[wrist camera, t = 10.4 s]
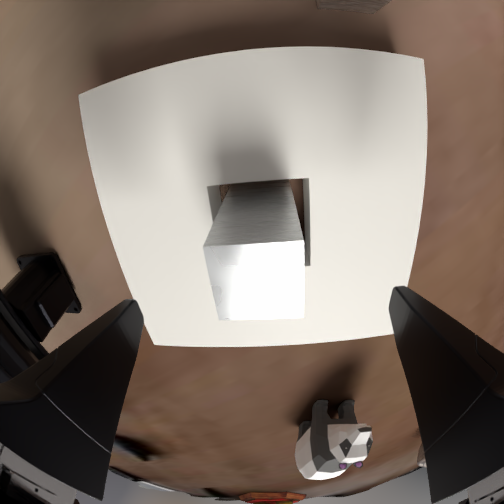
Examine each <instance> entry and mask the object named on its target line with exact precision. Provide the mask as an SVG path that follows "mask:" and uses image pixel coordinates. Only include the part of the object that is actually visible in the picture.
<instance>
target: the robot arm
mask: <svg viewBox="0 0 504 504" xmlns="http://www.w3.org/2000/svg"><path fill="white" fill-rule="evenodd" d="M17 263H18V265H19V267H20V269H21V271H20V272H19V273H18V274H17V275H16V276H15V277H14V278H13V279H12V280H11V281H10V282H9V283H8V284H7V285H6V286H5V287H4V288H3V289H2V290H1V289H0V504H79V502H78V500H77V499H75V496H76V493H77V490H78V491H80V492H82V493H84V494H86V495H88V496H91V497H93V498H95V499H98V500H100V501H102V499H103V495H104V489H105V483H106V477H107V472H108V467H109V462H110V457H111V452H112V448H113V443H114V439H115V434H116V430H117V426H118V422H119V418H120V414H121V410H122V406H123V403H124V399H125V395H126V392H127V388H128V385H129V381H130V378H131V374H132V371H133V368H134V364H135V361H136V357H137V353H138V348H139V343H140V338H141V333H142V329H143V324H144V317H143V314H142V312H141V309H140V307H139V305H138V302H137V301H136V300H134V299H126V300H124V301H122V302H121V303H119V304H118V305H117V306H115V307H114V308H112V309H111V310H109V311H108V312H107V313H105V314H104V315H102V316H101V317H99V318H98V319H97V320H95V321H94V322H92V323H91V324H90V325H88V326H87V327H85V328H84V329H83V330H81V331H80V332H78V333H77V334H76V335H74V336H73V337H72V338H70V339H69V340H67V341H66V342H65V343H63V344H62V345H61V346H59V347H58V349H57V348H56V349H55V350H54V351H52V352H51V353H50V354H49V353H48V352H47V351H46V350H45V348H44V347H43V346H42V345H41V344H40V342H43V341H44V339H45V338H46V336H47V335H48V333H49V332H50V330H51V329H52V328H53V327H55V325H56V324H57V322H58V321H59V320H60V318H61V317H62V316H63V314H64V313H65V312H66V313H80V311H81V310H82V308H81V306H80V304H79V302H78V300H77V298H76V296H75V294H74V292H73V290H72V288H71V286H70V283H69V281H68V279H67V277H66V275H65V272H64V270H63V268H62V266H61V263H60V261H59V259H58V256H57V255H56V254H55V253H53V252H52V253H42V254H33V255H24V256H19V257H18V258H17ZM389 314H390V319H391V323H392V327H393V332H394V336H395V341H396V346H397V349H398V353H399V356H400V359H401V362H402V366H403V369H404V372H405V376H406V379H407V383H408V386H409V390H410V393H411V397H412V401H413V405H414V409H415V413H416V417H417V421H418V425H419V430H420V434H421V439H422V444H423V449H424V452H425V453H424V455H425V461H426V467H427V473H428V479H429V487H430V495H431V502H432V504H434V503H436V502H439V501H441V500H443V499H446V498H448V497H450V496H453V495H455V494H457V493H459V492H461V491H463V490H465V489H467V491H468V497H469V498H467V499H465V500H463V501H461V502H459V504H504V353H502V352H500V351H499V350H497V349H496V348H494V347H493V346H491V345H490V344H489V343H487V342H486V341H484V340H483V339H482V338H480V337H479V336H478V335H475V333H473V332H472V331H471V330H469V329H468V328H466V327H465V326H464V325H462V324H461V323H459V322H458V321H457V320H455V319H454V318H452V317H451V316H449V315H448V314H447V313H445V312H444V311H442V310H441V309H439V308H438V307H436V306H435V305H433V304H432V303H430V302H429V301H427V300H426V299H424V298H423V297H421V296H420V295H418V294H417V293H415V292H414V291H412V290H411V289H409V288H408V287H406V286H395V287H394V288H393V290H392V294H391V298H390V302H389Z"/></svg>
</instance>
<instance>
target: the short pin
mask: <svg viewBox="0 0 504 504" xmlns="http://www.w3.org/2000/svg"><path fill="white" fill-rule="evenodd" d="M390 1H392V0H316V3H317V8H318V9H327V10H342V11H353V12H361V13H369V14H374V13H375V12H376V11H378V10H379V9H381V8H382V7H383V6H385V5H386V4H388V3H389V2H390Z"/></svg>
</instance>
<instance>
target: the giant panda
mask: <svg viewBox="0 0 504 504" xmlns="http://www.w3.org/2000/svg"><path fill="white" fill-rule="evenodd" d="M327 406H328V400H317V401H316V402H315V403H314V405H313V407H312V421H303V422H302V423H301V424H300V426H299V435H298V440H297V443H296V450H295V459H296V464H297V468H298V469H299V471H300V472H301V473H302V474H303V476H304V477H305V478H306V479H316V480H323V479H328V478H333V477H336V476H339V475H340V474H342V473H343V472H344V471H345V470H346V469H347V468H348V467H349V466H350V465H351V464H352V463H353V465H354V466H355V467H357V468H361V467H362V466H363V463H362V462H361V461H363V460H364V459H365V458H366V457H367V456H368V453H369V450H370V448H371V445H372V443H373V439H372V431H371V429H372V428H371V427H370V426H367V425H366V424H358V423H357V420H356V417H355V413H354V400H345V401H344V402H342V404H341V405H340V406H339V407H338V416H339V419H331V418H330V417H329V415H328V413H327Z"/></svg>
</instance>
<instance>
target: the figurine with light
mask: <svg viewBox="0 0 504 504" xmlns="http://www.w3.org/2000/svg"><path fill="white" fill-rule="evenodd" d="M305 497H306V495H304V494H297V493H291V492H269V493H256V492H250V493H247V494H244V495H241V496H239V498H240V499H241V501H245V502H247V503H253V504H293V503H295V502H298V501H300V500H303V499H304V498H305Z"/></svg>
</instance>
